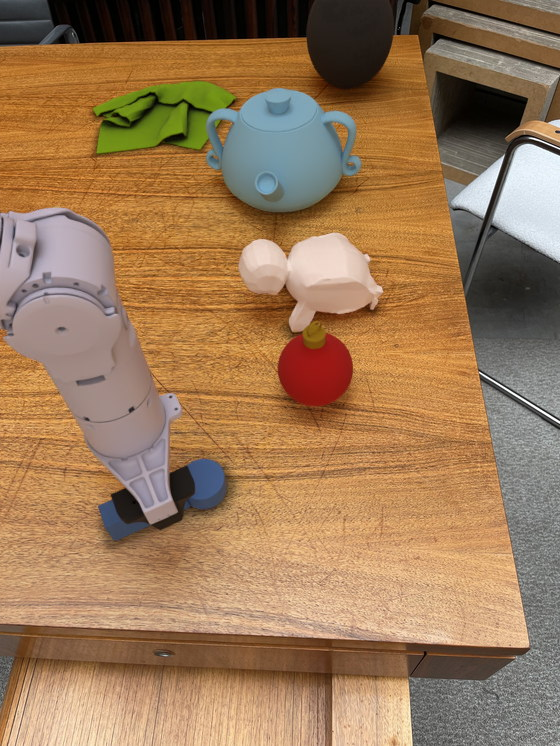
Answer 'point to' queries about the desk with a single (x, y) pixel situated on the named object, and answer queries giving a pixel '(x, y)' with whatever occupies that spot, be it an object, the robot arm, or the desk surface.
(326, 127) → the teapot
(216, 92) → the cloth
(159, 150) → the desk surface
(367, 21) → the decorative egg
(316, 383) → the christmas ornament
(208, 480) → the blue long-handled part
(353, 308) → the white animal figurine
